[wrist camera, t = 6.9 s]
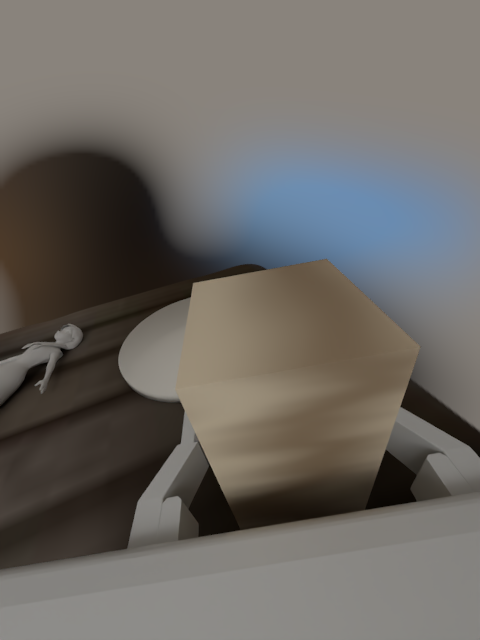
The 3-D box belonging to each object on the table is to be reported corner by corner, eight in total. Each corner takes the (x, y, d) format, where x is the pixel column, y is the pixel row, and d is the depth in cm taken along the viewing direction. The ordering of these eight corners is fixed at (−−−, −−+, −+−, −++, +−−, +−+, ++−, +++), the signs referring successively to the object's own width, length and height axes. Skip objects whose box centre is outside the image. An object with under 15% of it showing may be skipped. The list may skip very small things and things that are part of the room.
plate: (96, 417, 20) (90, 410, 19) (144, 312, 33) (141, 306, 32) (292, 384, 19) (292, 375, 19) (261, 291, 33) (260, 284, 32)
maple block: (251, 553, 12) (175, 389, 5) (242, 449, 16) (193, 282, 9) (355, 537, 12) (421, 347, 5) (318, 436, 16) (326, 258, 9)
